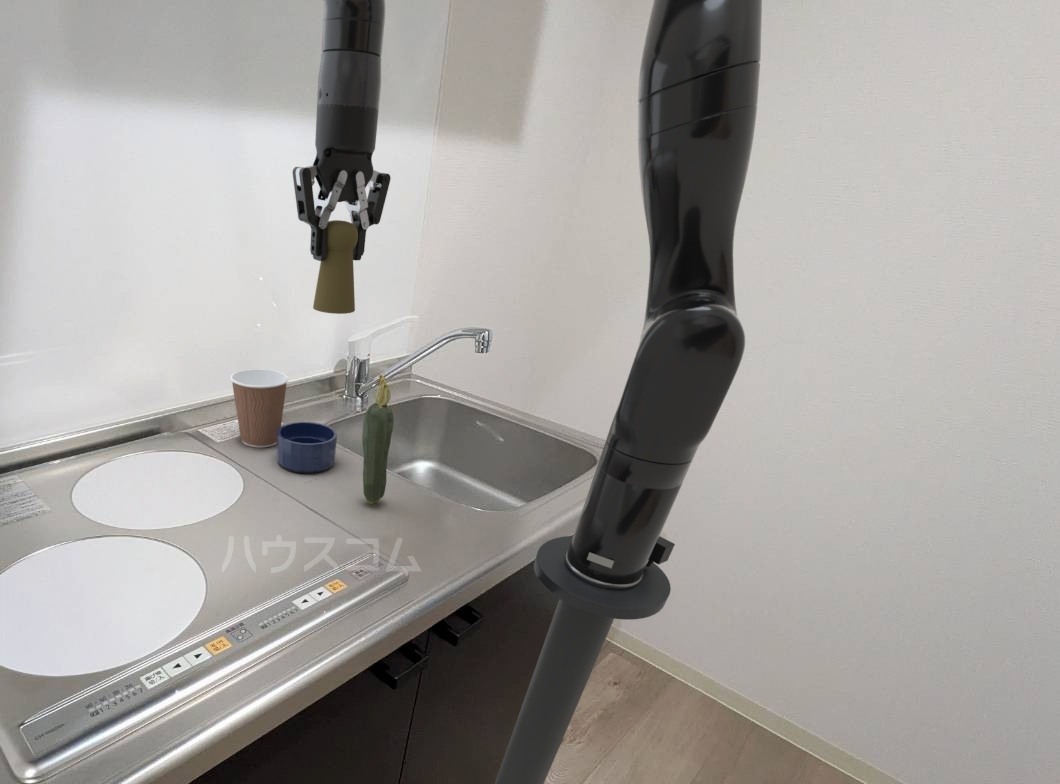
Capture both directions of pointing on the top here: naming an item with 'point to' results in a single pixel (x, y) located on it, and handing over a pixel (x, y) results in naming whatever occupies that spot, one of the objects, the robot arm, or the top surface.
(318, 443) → the bowl
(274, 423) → the coffee cup
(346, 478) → the top surface
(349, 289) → the cork
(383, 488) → the vegetable
